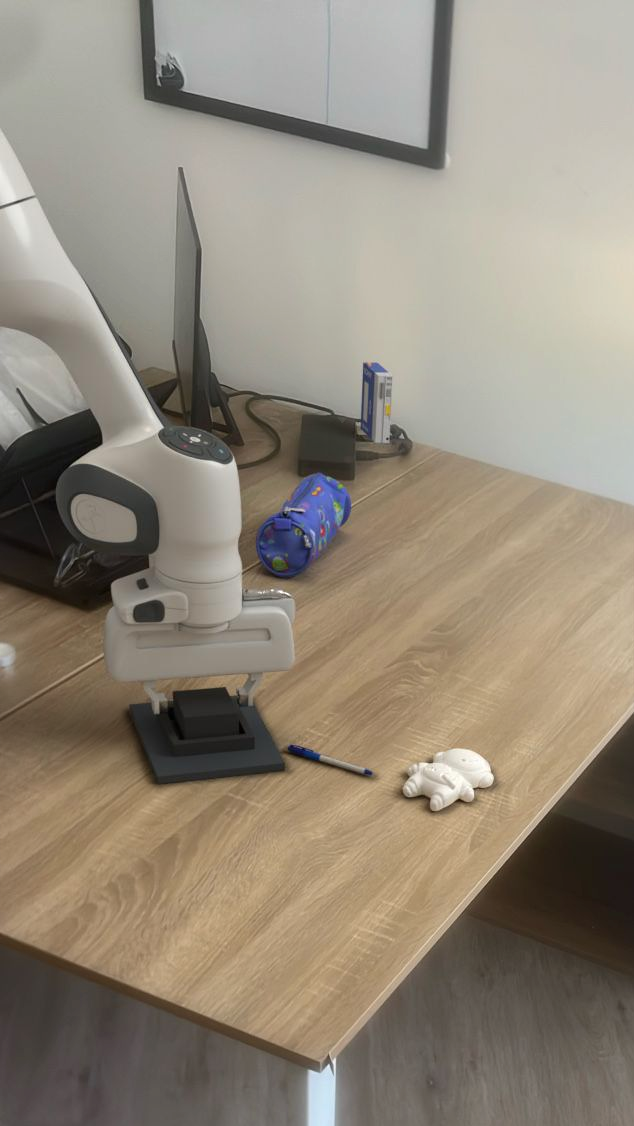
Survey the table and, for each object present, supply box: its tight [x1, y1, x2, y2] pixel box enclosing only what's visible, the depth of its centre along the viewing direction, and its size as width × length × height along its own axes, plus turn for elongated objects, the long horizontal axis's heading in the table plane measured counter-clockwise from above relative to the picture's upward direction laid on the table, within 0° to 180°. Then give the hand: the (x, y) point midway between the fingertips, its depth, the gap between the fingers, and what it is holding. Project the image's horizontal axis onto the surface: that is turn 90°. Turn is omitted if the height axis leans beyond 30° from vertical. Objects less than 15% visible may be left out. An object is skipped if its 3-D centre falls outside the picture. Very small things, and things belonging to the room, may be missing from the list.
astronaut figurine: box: [402, 748, 495, 812], centre depth 144 cm, size 9×12×3 cm
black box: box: [172, 686, 239, 740], centre depth 144 cm, size 6×6×4 cm
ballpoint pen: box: [287, 744, 373, 776], centre depth 145 cm, size 10×1×1 cm, turn 73°
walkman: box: [360, 361, 394, 444], centre depth 230 cm, size 8×3×12 cm, turn 27°
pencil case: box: [255, 472, 352, 579], centre depth 186 cm, size 22×9×10 cm, turn 171°
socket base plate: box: [128, 694, 286, 785], centre depth 145 cm, size 14×16×3 cm
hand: (202, 708), depth 143 cm, fingers open, 8 cm apart
